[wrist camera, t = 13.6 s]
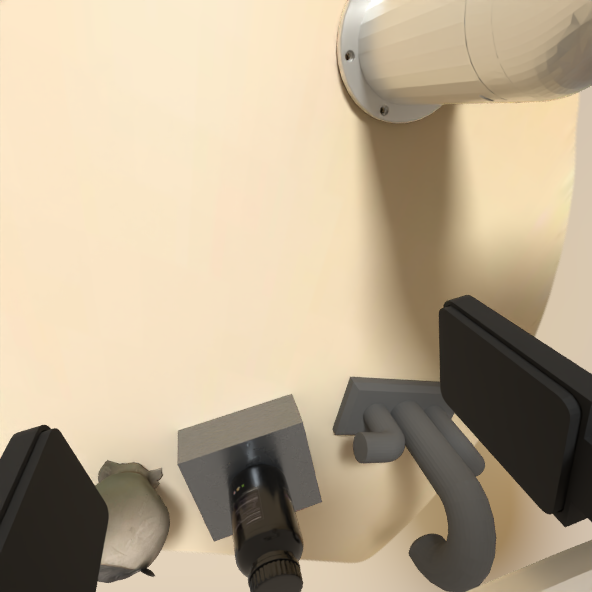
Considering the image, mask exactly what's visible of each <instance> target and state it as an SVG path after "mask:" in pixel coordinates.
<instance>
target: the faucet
mask: <svg viewBox="0 0 592 592" xmlns="http://www.w3.org/2000/svg"><path fill="white" fill-rule="evenodd" d="M453 414H454V411H453V410H452V409H451V408H450V407H449V406H448V405H447V403H446V402H445V401H444V399H443V397H442V394H441V390H440V382H432V381H415V380H397V379H380V378H362V377H350V379H349V382H348V385H347V388H346V391H345V394H344V397H343V400H342V403H341V406H340V409H339V412H338V415H337V417H336V420H335V423H334V426H333V431H334V433H335V435H355V437H354V441H353V450H354V455H355V458H356V460H357V461H358V462H359V463H385V462H391V461H394V460H396V459H398V458H399V457H400V456H401V455H402V453H403V451H404V448H405V446H406V447H407V449H408V450H409V452H410V453H411V455H412V456H413V458H414V459H415V461H416V462H417V464H418V465H419V467H420V468H421V470H422V471H423V473H424V474H425V476H426V477H427V479H428V480H429V482H430V484H431V485H432V487H433V488H434V490H435V491H436V493H437V494H438V495H439V497H440V498H441V501H442V502H443V505H444V507H445V511H446V515H447V520H448V536H447V541H445V539H444V538H443V537H442V536H440V535H437V534H427V535H424V536H422V537H420V538H418V539H417V540H415V541H414V543H413V544H412V545H411V547H410V550H409V556H410V557H411V559H412V561H413V562H414V564H415V565H416V567H417V568H418V570H419V571H420V572H421V573H422V574H423V575H424V576H425V577H426V578H427V579H428V580H429V581H430V582H431V583H433V584H435V585H436V586H438V587H440V588H441V589H443V590H445V591H449V592H466V591H469V590H471V589H473V588H476V587H478V586H479V585H480V584H481V583H482V582H483V580H484V579H485V578H486V577H487V576H488V574H489V573H490V570H491V567H492V563H493V560H494V557H495V546H496V533H495V525H494V518H493V514H492V511H491V508H490V504H489V501H488V499H487V497H486V494H485V492H484V490H483V488H482V486H481V484H480V482H479V481H478V480H477V478H476V476H478V475H480V474H481V473H482V472H483V470H484V468H485V462H484V459H483V457H482V456H481V455H480V454H479V452H478V451H477V450H476V449H475V447H474V446H473V445H472V443H471V442H470V441H469V440H468V439H467V437H466V436H465V435H464V434H463V433H462V431H461V430H460V429H459V428H458V427H457V426H456V425H455V423H454V422H453V421H452V420H451V418H452V416H453Z"/></svg>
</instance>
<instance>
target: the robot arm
mask: <svg viewBox="0 0 592 592" xmlns="http://www.w3.org/2000/svg"><path fill="white" fill-rule="evenodd" d="M345 54H347V55H348V56H349V59H348V60H346V58H345ZM337 56H338V65H339V69H340V73H341V77H342V80H343V82H344V85H345V87H346V89H347V91H348V93H349V94H350V96H351V97H352V99H353V100H354V102H355V103H356V104H357V105H358V106H359V107H360V108H361V109H362V110H363V111H364V112H365V113H367V114H368V115H370V116H372V117H373V118H375V119H378V120H381V121H384V122H389V123H409V122H414V121H418V120H420V119H422V118H424V117H427V116H429V115H430V114H432V113H433V112H435V111H436V110H437V109H439V108H440V107H441V106H442V105H443V104H481V103H521V102H544V101H552V100H557V99H561V98H564V97H568V96H571V95H573V94H575V93H578V92H580V91H582V90H584V89H586V88H588V87H590V86H592V0H347V2H346V5H345V7H344V10H343V12H342V16H341V20H340V24H339V28H338V38H337ZM380 108H382V113H380ZM439 345H440V390H441V394H442V397H443V399H444V401H445V402H446V403H447V405H448V406H449V407H450V408H451V409H452V410H453V411H454V413H455V414H456V415H457V416H458V417H459V418H460V419H461V420H462V421H463V423H464V424H465V425H466V426H467V427H468V428H469V429H470V430H471V432H472V433H473V434H474V435H475V436H476V437H477V438H478V439H479V441H480V442H481V443H482V444H483V445H484V446H485V447H486V448H487V449H488V451H489V452H490V453H491V454H492V455H493V456H494V457H495V458H496V459H497V461H498V462H499V463H500V464H501V465H502V466H503V467H504V468H505V470H506V471H507V472H508V473H509V474H510V475H511V476H512V477H513V479H514V480H515V481H516V482H517V483H518V484H519V485H520V486H521V487H522V488H523V490H524V491H525V492H526V493H527V494H528V495H529V496H530V497H531V498H532V500H533V501H534V502H535V503H536V504H537V505H538V506H539V508H540V509H542V511H544V512H545V513H547V514H554V516H555V517H556V518H557V519H558V520H559V521H560V522H561V523H562V524H563V526H564V527H567V526H570V525H572V524H574V523H577V522H579V521H581V520H584V519H586V518H588V519H589V520H590V521H591V522H592V374H591V373H589V372H587V371H586V370H584V369H583V368H581V367H579V366H578V365H577V364H575V363H574V362H572V361H571V360H569V359H567V358H566V357H564V356H563V355H561V354H560V353H558V352H557V351H555V350H553V349H552V348H550V347H549V346H547V345H546V344H544V343H543V342H541V341H540V340H538V339H537V338H535V337H534V336H532V335H530V334H529V333H527V332H526V331H524V330H523V329H521V328H520V327H518V326H517V325H515V324H514V323H512V322H510V321H509V320H507V319H506V318H504V317H503V316H501V315H500V314H498V313H497V312H495V311H493V310H492V309H490V308H489V307H487V306H486V305H484V304H483V303H481V302H480V301H478V300H477V299H475V298H473V297H472V296H470V295H465V296H462V297H459V298H455V299H452V300H449V301H446V302H445V304H444V308H442V309H440V311H439ZM108 520H109V512H108V507H107V505H106V503H105V501H104V499H103V498H102V496H101V495H100V493H99V492H98V490H97V488H96V487H95V485H94V484H93V482H92V481H91V479H90V477H89V476H88V474H87V473H86V471H85V470H84V468H83V466H82V465H81V463H80V462H79V460H78V459H77V457H76V455H75V454H74V452H73V451H72V449H71V448H70V446H69V444H68V443H67V441H66V440H65V438H64V437H63V435H62V433H61V432H60V431H59V430H58V429H56V428H54V429H51V428H50V427H48V426H47V425H41V426H38V427H34V428H31V429H28V430H25V431H21V432H18V433H16V434H14V435H13V436H12V438H11V439H10V441H9V443H8V445H7V447H6V449H5V451H4V453H3V455H2V457H1V459H0V592H96V587H97V581H98V576H99V570H100V565H101V559H102V554H103V548H104V543H105V537H106V532H107V526H108ZM466 592H592V540H590V541H588V542H585V543H583V544H580V545H577V546H575V547H572V548H570V549H567V550H565V551H562V552H560V553H557V554H555V555H552V556H550V557H548V558H545V559H543V560H541V561H538V562H536V563H533V564H531V565H529V566H526V567H524V568H521V569H519V570H517V571H514V572H512V573H509V574H507V575H504V576H502V577H500V578H497V579H495V580H492V581H490V582H488V583H485V584H483V585H481V586H478V587H476V588H473V589H471V590H469V591H466Z"/></svg>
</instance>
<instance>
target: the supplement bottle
mask: <svg viewBox="0 0 592 592" xmlns="http://www.w3.org/2000/svg"><path fill="white" fill-rule="evenodd" d="M228 495H229V506H230V515H231V524H232V533H233V542H234V551H235V558H236V564H237V566H238V568H239V570H240V571H241V572H242V573H243V574H244V575H245V576H246V577H248V583H249V587H250V591H251V592H301V589H302V587H303V586H302V585H303V581H302V576H301V572H300V565H299V562H298V561H299V560H300V558H301V555H302V552H303V539H302V535H301V531H300V527H299V524H298V520H297V516H296V513H295V509H294V506H293V502H292V498H291V495H290V491H289V487H288V484H287V481H286V478H285V475H284V474H283V472H282V471H281V470H280V469H278V468H277V467H275V466H272V465H268V464H258V465H253V466H250V467H248V468H246V469H244V470H242V471H241V472H239V473H238V474H237V475H236V476H235V477H234V479H233V480H232V482H231V484H230V486H229V491H228Z"/></svg>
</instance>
